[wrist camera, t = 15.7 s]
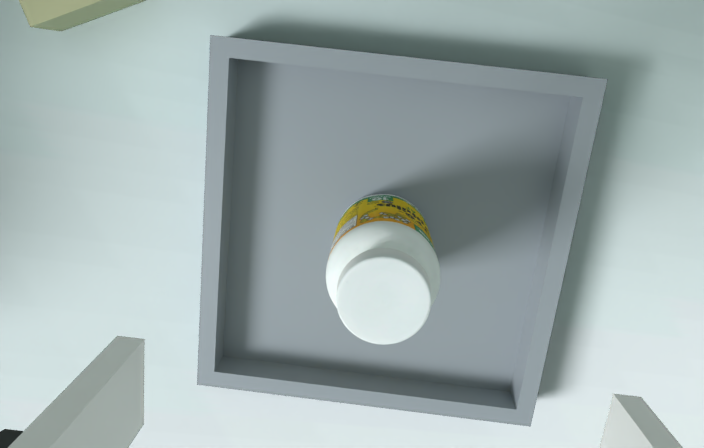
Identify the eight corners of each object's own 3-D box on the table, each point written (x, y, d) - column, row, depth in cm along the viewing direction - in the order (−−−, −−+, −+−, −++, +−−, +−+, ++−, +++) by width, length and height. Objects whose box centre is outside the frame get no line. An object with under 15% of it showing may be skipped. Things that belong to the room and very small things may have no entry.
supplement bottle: (318, 245, 33) (292, 312, 23) (372, 172, 31) (368, 213, 22) (392, 297, 33) (395, 382, 24) (448, 227, 32) (474, 289, 23)
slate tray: (209, 363, 36) (197, 384, 33) (224, 38, 30) (210, 35, 28) (520, 402, 35) (530, 426, 33) (589, 78, 30) (607, 79, 28)
